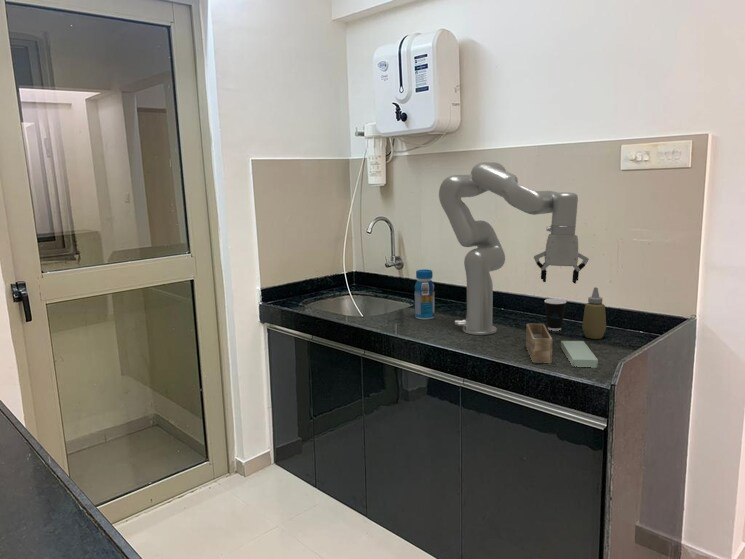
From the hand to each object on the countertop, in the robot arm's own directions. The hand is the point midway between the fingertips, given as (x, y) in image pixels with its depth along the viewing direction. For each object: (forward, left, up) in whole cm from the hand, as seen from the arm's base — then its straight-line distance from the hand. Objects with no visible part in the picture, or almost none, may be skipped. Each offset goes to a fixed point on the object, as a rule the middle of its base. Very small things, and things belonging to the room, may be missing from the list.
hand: (559, 282), depth 187 cm
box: (-7, -9, -22) cm, 25 cm away
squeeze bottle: (+15, +13, -23) cm, 30 cm away
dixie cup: (+3, +23, -23) cm, 32 cm away
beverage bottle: (-47, +39, -23) cm, 65 cm away
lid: (+5, -11, -22) cm, 26 cm away
